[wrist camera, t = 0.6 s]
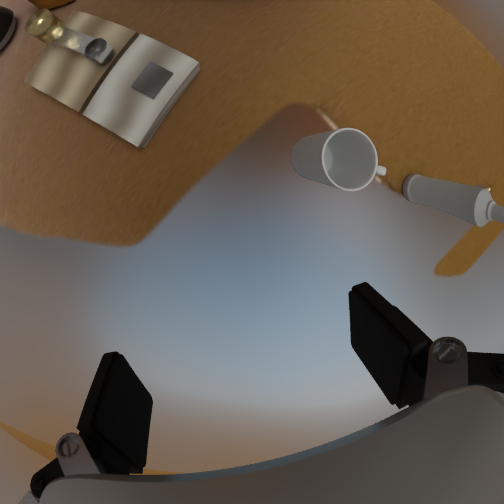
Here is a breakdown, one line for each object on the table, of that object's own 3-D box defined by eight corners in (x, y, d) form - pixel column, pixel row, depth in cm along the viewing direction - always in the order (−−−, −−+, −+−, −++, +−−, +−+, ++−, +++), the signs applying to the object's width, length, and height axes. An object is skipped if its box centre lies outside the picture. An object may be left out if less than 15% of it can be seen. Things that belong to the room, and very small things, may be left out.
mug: (284, 175, 37) (315, 183, 26) (293, 129, 35) (328, 119, 24) (346, 189, 39) (392, 203, 28) (354, 147, 37) (403, 148, 26)
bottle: (423, 198, 42) (536, 239, 18) (403, 205, 42) (522, 254, 18) (419, 170, 40) (538, 199, 17) (399, 177, 40) (525, 210, 16)
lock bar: (120, 48, 24) (98, 24, 16) (103, 70, 24) (77, 51, 17) (64, 26, 20) (38, 6, 12) (49, 46, 21) (20, 30, 13)
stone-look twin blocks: (36, 85, 26) (21, 81, 21) (83, 19, 23) (72, 8, 19) (144, 148, 33) (136, 146, 29) (200, 71, 30) (199, 60, 26)
